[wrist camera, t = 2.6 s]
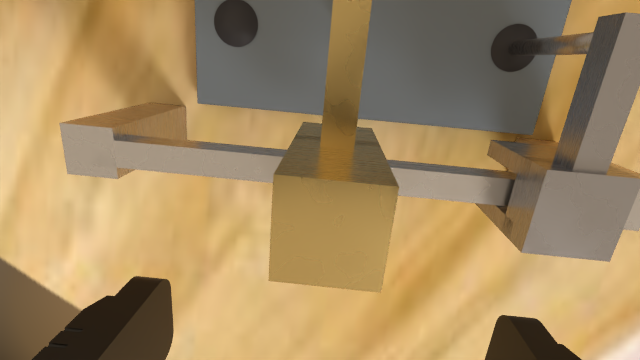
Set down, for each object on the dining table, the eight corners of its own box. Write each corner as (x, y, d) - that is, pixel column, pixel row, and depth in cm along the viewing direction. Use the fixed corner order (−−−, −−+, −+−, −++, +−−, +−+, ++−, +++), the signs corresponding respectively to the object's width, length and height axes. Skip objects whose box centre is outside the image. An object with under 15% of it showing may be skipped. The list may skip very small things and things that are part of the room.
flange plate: (200, -39, 25) (193, -44, 24) (564, -8, 25) (575, -12, 24) (203, 101, 29) (197, 103, 27) (524, 132, 28) (533, 135, 27)
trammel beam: (141, 1, 26) (-18, -46, 15) (585, 41, 26) (795, 25, 14) (152, 146, 30) (31, 202, 18) (540, 184, 29) (676, 268, 18)
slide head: (316, 14, 25) (283, -51, 10) (379, 20, 24) (437, -38, 10) (305, 166, 28) (268, 281, 14) (359, 172, 28) (380, 292, 14)
